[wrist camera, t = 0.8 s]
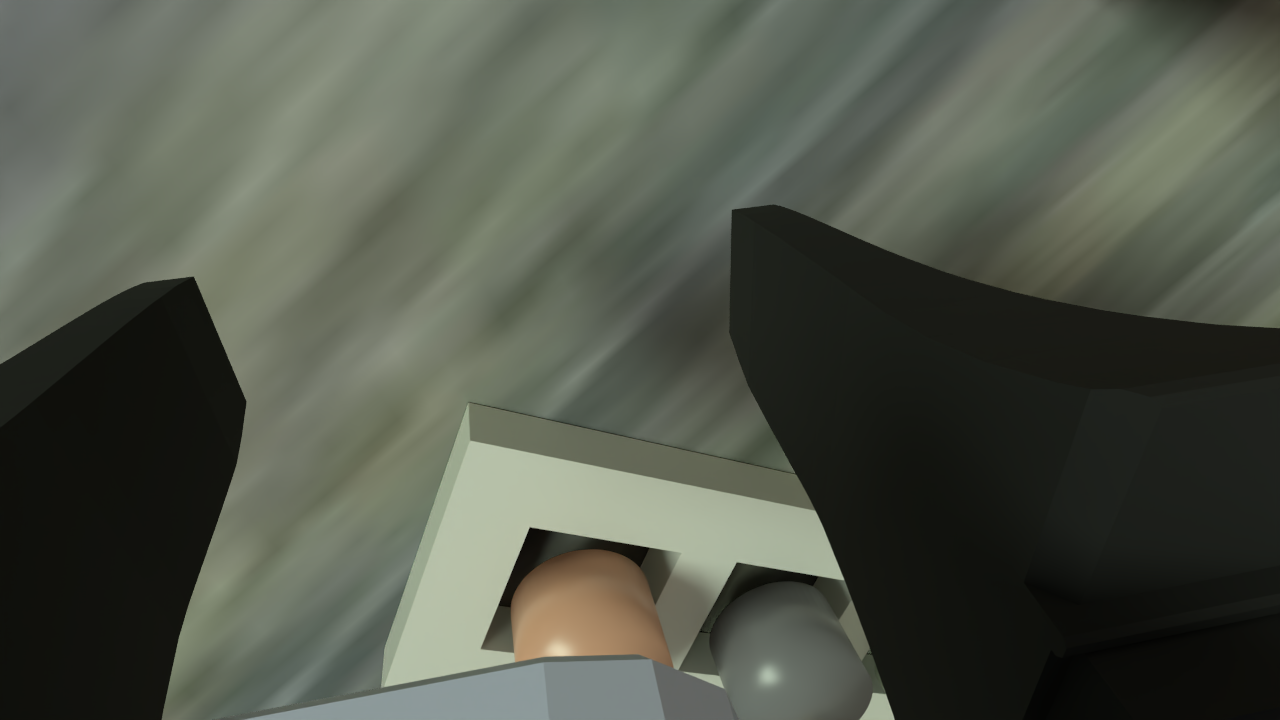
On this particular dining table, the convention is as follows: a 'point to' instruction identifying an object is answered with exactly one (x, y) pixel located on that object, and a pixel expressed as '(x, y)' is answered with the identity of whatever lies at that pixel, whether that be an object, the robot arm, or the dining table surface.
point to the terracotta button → (586, 609)
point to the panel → (604, 509)
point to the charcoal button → (788, 657)
